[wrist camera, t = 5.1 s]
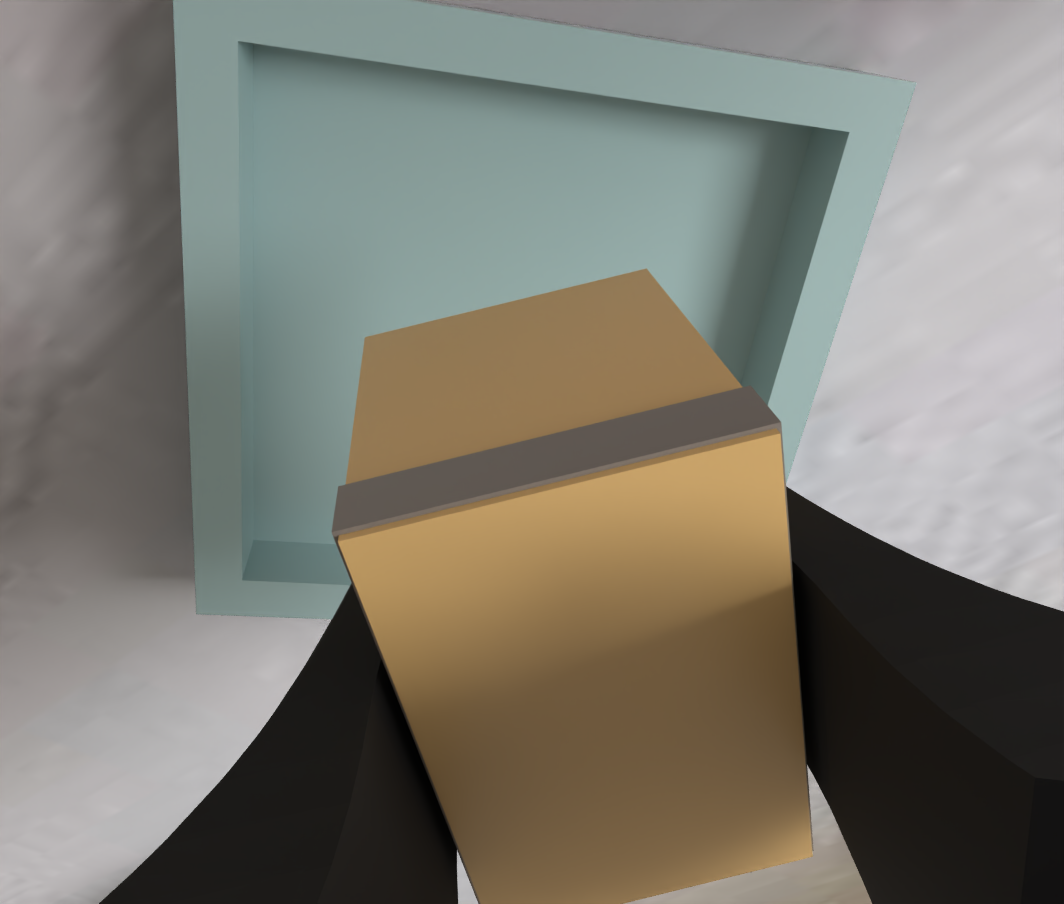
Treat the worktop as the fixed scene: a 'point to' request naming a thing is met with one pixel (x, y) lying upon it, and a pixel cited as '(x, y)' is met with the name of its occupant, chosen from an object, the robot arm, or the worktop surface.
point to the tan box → (582, 593)
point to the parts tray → (476, 226)
